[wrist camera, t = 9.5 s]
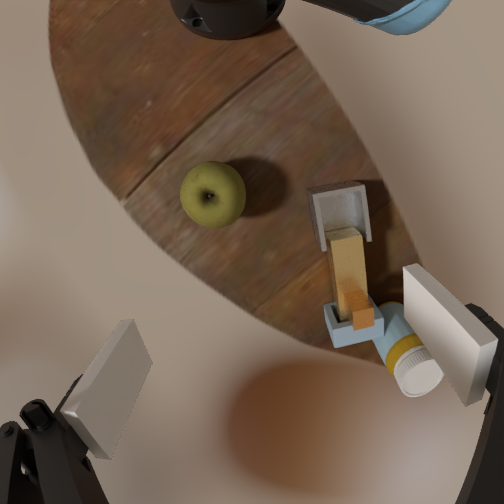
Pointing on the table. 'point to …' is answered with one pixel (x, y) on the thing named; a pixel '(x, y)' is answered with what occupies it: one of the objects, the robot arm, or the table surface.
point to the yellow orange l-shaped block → (349, 278)
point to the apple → (213, 194)
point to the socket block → (345, 332)
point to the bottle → (406, 353)
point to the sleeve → (339, 209)
